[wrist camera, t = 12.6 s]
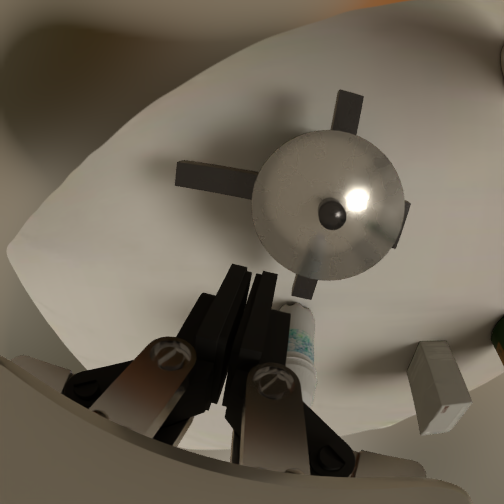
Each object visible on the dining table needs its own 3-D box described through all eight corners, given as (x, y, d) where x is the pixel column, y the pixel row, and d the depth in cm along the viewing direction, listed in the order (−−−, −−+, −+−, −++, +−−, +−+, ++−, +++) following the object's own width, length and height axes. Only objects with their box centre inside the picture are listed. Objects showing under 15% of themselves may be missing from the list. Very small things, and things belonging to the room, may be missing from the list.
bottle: (270, 328, 45) (248, 434, 27) (276, 294, 42) (255, 405, 24) (310, 334, 44) (307, 442, 26) (320, 301, 41) (324, 414, 23)
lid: (267, 115, 23) (263, 113, 21) (417, 155, 22) (430, 159, 19) (242, 258, 30) (236, 272, 27) (374, 287, 28) (380, 303, 26)
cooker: (214, 80, 31) (186, 66, 22) (401, 119, 29) (431, 118, 20) (193, 242, 41) (166, 272, 32) (355, 279, 39) (366, 317, 30)
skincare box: (431, 369, 44) (452, 432, 30) (401, 371, 45) (418, 438, 31) (448, 337, 40) (477, 402, 26) (416, 339, 41) (441, 409, 27)
